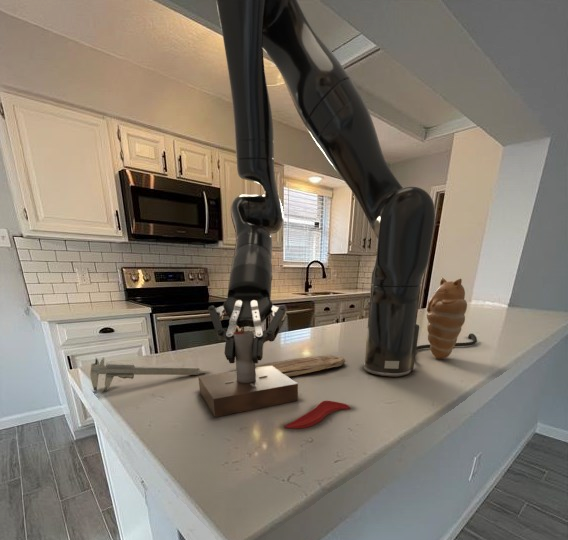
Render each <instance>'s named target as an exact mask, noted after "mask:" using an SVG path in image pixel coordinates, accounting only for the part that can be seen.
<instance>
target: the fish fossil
mask: <svg viewBox="0 0 568 540" xmlns="http://www.w3.org/2000/svg"><path fill="white" fill-rule="evenodd" d="M345 363H346V359H345V357H341V356H336V355H331V354H330V355H321V356H319V355H318V356H309V357H302V358H295V359H294V358H292V359H286V360H281V361H275V362H270V363H266V364H260V365H258V366H257V365H255V368H258V367H265V366H273V367H274V368H276V369H277V370H279V371H280V372H282V373H283V374H285V375H286V376H287V377H289V378H290V377H295V376H299V375H303V374H310V373H314V372H318V371H322V370H328V369H331V368H338V367H342V366H343V365H344V364H345ZM234 371H236V369H235V370H234Z"/></svg>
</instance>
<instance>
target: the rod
mask: <svg viewBox="0 0 568 540" xmlns="http://www.w3.org/2000/svg"><path fill="white" fill-rule="evenodd" d="M254 338H255V331H252V330H251V331H250V330H241V331H238V332H234V343H235V370H236V374H237V381H238V382H241V383H250V382H253V381H255V380H256V370H255V367H256V364H254V363H253V360H252V353H253V341H254Z"/></svg>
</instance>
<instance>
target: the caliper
mask: <svg viewBox="0 0 568 540" xmlns="http://www.w3.org/2000/svg"><path fill="white" fill-rule="evenodd" d="M200 373H201V374H205V373H206V370H205V369H204V368H203V369H201V368H200V367H198V366H164V365H163V366H161V365H135V363H121V362H116V363H115V362H106V364H105V357H102V358H101V359H100V361H99V359H98V357H97V356H95V361H94V362H91V365H90V374H89V375H90V376H89V377H90V380H91V385H92V388H93V391H94V392H97V391H98V385H99V384H98V383H99V375H105V377H104V378H105V379H104V390H105V392H107V391H108V390H109V389H110V387H111V384H112V381H113V379H114V377H118V378H120V379H131V380H133V379H134V377H135V375H137V376H139V375H146V376H147V375H148V376H150V375H153V376H155V375H157V376H160V375H163V376H164V375H166V376H167V375H168V376H199V375H200Z"/></svg>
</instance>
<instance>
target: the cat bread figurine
mask: <svg viewBox="0 0 568 540" xmlns="http://www.w3.org/2000/svg"><path fill="white" fill-rule="evenodd" d="M462 281H463V280H462V278H458V279H456V280H455V281H452V280H451V281H447V279H445V278H444V277H441V279H440V282H439V287H437V289H435V291H434V292H433V295H432V297H430V298H429V300H428V302H427V308H426V312H427V314H426V319H427V321H428V323H427V333H428V334H427V341H428V344H431V345H430V348H429V349H430V352H431V355H433V357H435V358H436V359H446V358H448V357H449V356H450V355H451V354H452V352H453V348H454V347H455V346H454V345H455V344H456V343H458V342H457V341H458V337H459V335H460V333H461V331H462V327H463V326H464V324H465V322H466V315H465V314H466V313H467V309H468V302H467V301H466V300H465V297H466V290H465V288H464V286H463V284H462V283H463V282H462Z"/></svg>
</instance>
